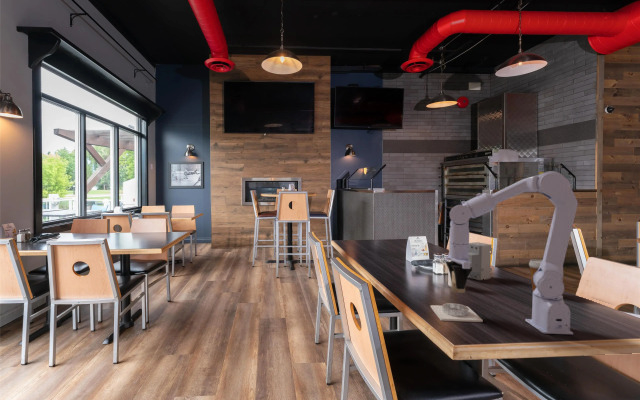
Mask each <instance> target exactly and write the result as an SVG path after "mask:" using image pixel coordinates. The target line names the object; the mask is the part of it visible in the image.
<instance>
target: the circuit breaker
mask: <svg viewBox="0 0 640 400" xmlns="http://www.w3.org/2000/svg"><path fill="white" fill-rule="evenodd" d="M492 246H493V245H492V244H489V243H484V242H469V262H470V267H471V268H472V271H471V272H470V274H469V276H468V278H469V277H470V279H473V280H476V281H483V279H484V280H489V279H492V276H491V275H492V271H493V268H492V267H491V259H492V257H491V256H492V255H493V247H492Z"/></svg>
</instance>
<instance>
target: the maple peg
mask: <svg viewBox="0 0 640 400" xmlns="http://www.w3.org/2000/svg"><path fill="white" fill-rule="evenodd" d="M450 289H451V290H450V291H451V292H453V293H456V294H457V293H458V294H465V292H466V287H465V288H464V289H457V287H456V280H455V274H454V271H452V286H451V287H450Z"/></svg>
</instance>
